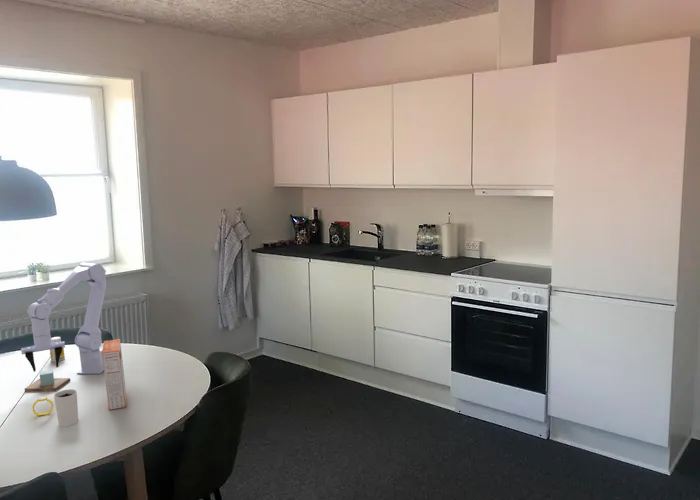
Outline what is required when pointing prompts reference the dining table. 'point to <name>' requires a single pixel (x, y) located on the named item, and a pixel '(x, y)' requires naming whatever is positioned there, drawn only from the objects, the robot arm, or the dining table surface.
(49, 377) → the teal cube
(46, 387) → the walnut board
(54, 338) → the supplement bottle
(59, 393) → the white cup
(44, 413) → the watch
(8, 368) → the dining table surface
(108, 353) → the cracker box
